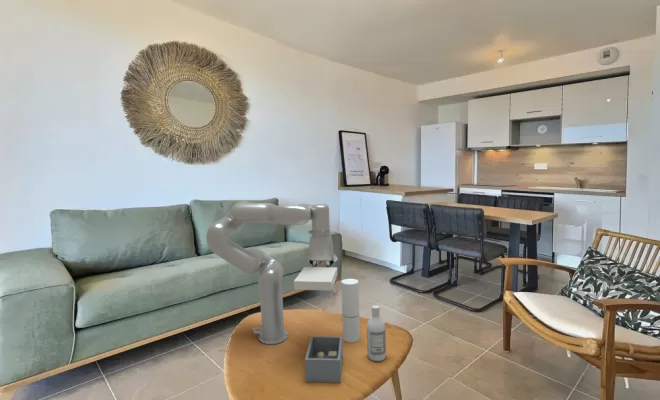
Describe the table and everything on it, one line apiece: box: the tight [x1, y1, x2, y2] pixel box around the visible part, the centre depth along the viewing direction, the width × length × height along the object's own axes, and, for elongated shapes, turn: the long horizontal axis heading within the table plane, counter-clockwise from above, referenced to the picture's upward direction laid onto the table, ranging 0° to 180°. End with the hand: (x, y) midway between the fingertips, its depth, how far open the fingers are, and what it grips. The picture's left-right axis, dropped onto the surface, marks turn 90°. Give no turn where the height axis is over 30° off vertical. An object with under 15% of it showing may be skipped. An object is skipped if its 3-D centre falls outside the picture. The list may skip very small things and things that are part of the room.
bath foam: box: [366, 304, 387, 362], centre depth 129 cm, size 7×7×20 cm
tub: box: [304, 335, 344, 383], centre depth 124 cm, size 16×12×8 cm
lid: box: [293, 263, 338, 291], centre depth 136 cm, size 23×14×3 cm, turn 172°
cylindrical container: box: [340, 278, 361, 344], centre depth 144 cm, size 7×7×25 cm
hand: (322, 274), depth 146 cm, fingers closed on lid, 4 cm apart
